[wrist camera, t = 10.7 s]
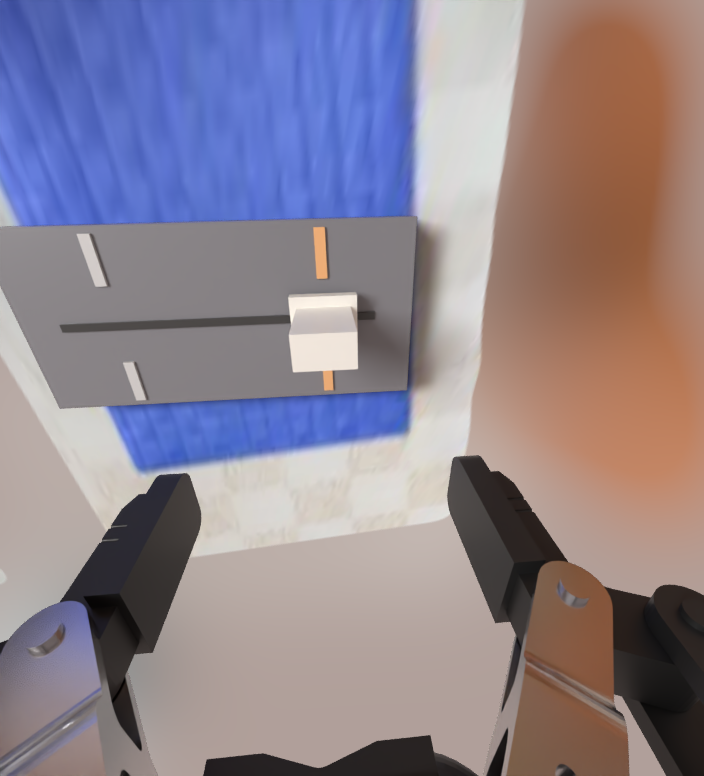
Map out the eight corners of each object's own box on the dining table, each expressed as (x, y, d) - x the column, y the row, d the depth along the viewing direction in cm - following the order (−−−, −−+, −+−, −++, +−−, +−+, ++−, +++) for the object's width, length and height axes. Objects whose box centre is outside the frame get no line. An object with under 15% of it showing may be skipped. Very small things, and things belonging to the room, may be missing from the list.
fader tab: (289, 294, 26) (278, 321, 20) (355, 292, 26) (365, 318, 20) (294, 344, 28) (286, 384, 21) (356, 342, 28) (366, 380, 22)
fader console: (8, 226, 26) (-31, 228, 23) (408, 215, 27) (417, 216, 24) (81, 392, 32) (58, 409, 29) (400, 375, 34) (407, 391, 31)
